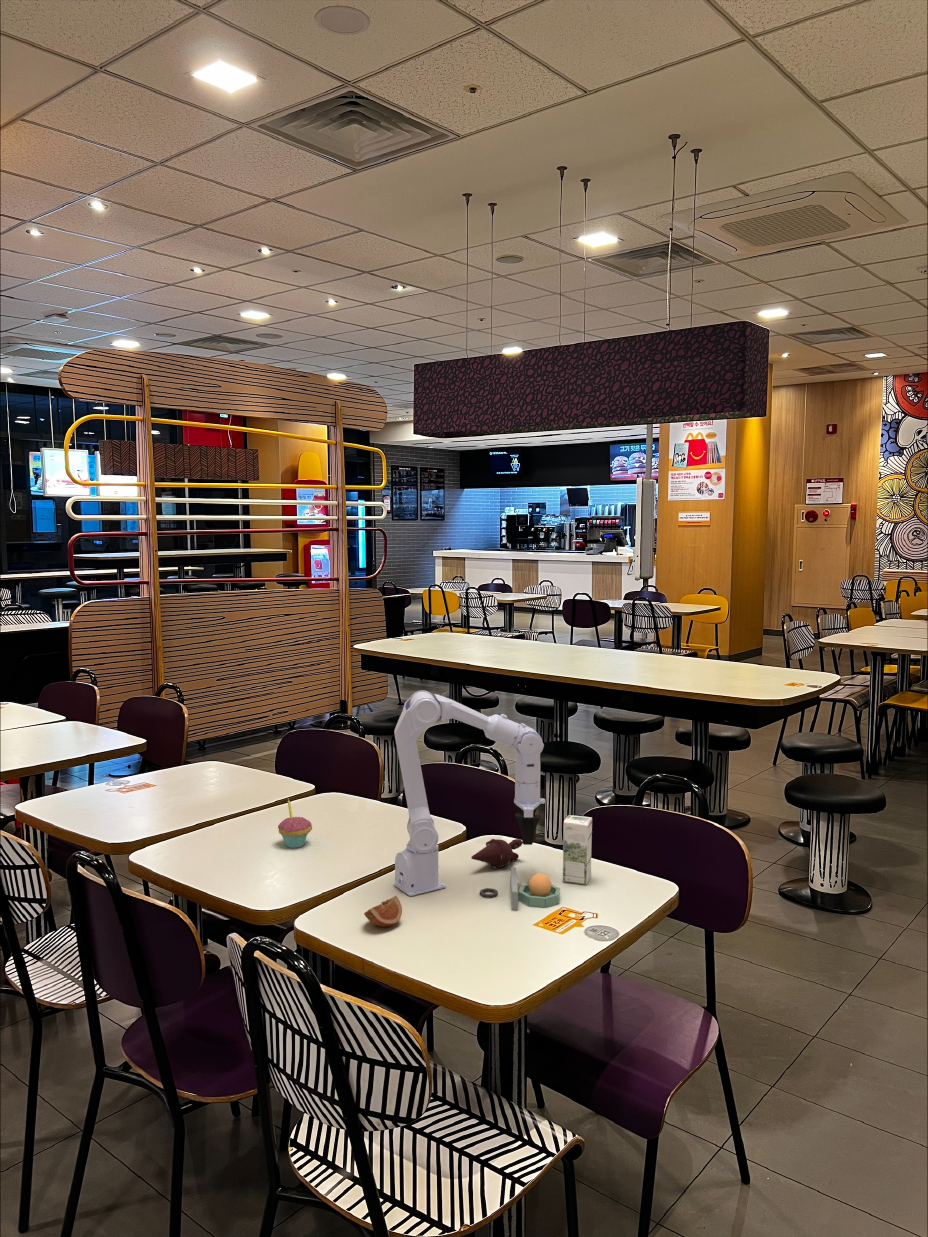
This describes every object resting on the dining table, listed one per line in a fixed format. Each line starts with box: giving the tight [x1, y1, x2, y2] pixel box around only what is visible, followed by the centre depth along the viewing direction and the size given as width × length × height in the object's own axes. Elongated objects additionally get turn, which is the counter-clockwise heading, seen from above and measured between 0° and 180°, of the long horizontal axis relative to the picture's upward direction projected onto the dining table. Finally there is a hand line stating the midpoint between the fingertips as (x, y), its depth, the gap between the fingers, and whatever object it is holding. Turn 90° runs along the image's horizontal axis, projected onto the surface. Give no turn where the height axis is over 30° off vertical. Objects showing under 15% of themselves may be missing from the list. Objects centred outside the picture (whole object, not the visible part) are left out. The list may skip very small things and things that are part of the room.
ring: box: [479, 887, 499, 899], centre depth 195 cm, size 4×4×1 cm
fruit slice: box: [363, 895, 403, 928], centre depth 180 cm, size 8×7×5 cm
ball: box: [528, 873, 552, 897], centre depth 192 cm, size 5×5×5 cm
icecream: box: [470, 838, 523, 870], centre depth 212 cm, size 7×7×15 cm
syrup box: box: [562, 814, 593, 886], centre depth 203 cm, size 6×6×14 cm
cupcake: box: [277, 798, 313, 849], centre depth 226 cm, size 9×8×12 cm
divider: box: [510, 866, 519, 911], centre depth 194 cm, size 14×1×4 cm, turn 178°
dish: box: [518, 882, 561, 909], centre depth 193 cm, size 9×9×2 cm
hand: (527, 838), depth 203 cm, fingers open, 7 cm apart
